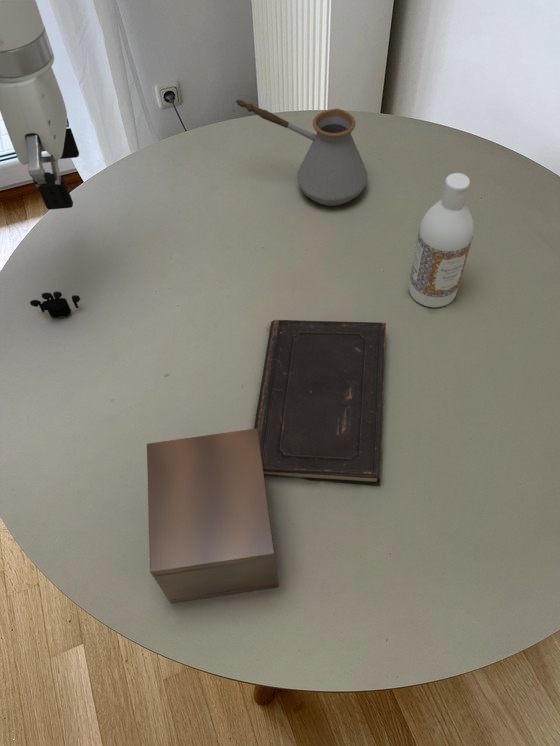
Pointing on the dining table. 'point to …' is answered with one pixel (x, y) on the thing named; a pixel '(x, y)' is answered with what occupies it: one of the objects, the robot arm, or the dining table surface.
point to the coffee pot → (326, 156)
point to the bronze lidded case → (209, 516)
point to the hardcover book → (323, 401)
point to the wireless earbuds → (55, 304)
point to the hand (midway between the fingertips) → (64, 181)
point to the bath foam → (442, 246)
